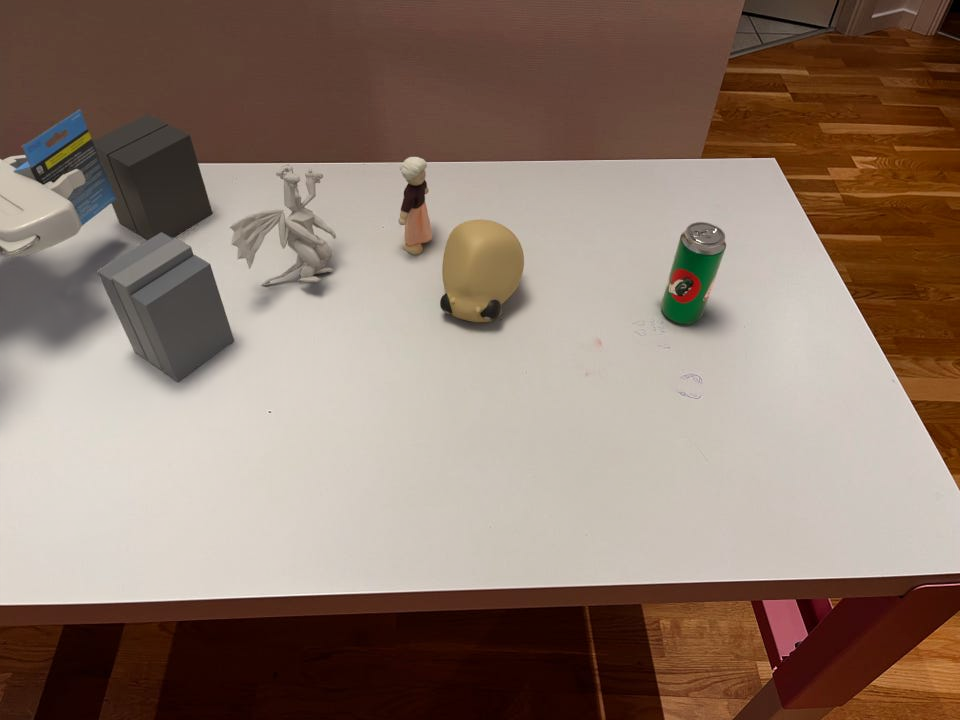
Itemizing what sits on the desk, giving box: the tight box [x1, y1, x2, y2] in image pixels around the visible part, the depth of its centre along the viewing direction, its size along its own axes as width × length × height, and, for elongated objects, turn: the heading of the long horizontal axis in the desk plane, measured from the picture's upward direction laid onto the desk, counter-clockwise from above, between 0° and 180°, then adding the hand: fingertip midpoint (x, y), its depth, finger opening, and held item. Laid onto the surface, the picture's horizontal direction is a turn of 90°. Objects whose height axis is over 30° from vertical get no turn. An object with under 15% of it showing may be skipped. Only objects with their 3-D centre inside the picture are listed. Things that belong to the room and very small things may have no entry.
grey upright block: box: [96, 232, 235, 383], centre depth 80 cm, size 8×8×12 cm
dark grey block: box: [92, 113, 214, 241], centre depth 96 cm, size 8×9×12 cm
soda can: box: [660, 221, 727, 325], centre depth 86 cm, size 5×5×12 cm
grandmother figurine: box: [398, 156, 433, 256], centre depth 94 cm, size 8×4×13 cm, turn 171°
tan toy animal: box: [439, 219, 525, 323], centre depth 88 cm, size 10×12×11 cm
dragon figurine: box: [228, 163, 337, 286], centre depth 90 cm, size 10×18×14 cm, turn 168°
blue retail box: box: [13, 108, 116, 227], centre depth 85 cm, size 9×4×12 cm, turn 158°
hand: (65, 165), depth 85 cm, fingers closed on blue retail box, 4 cm apart
